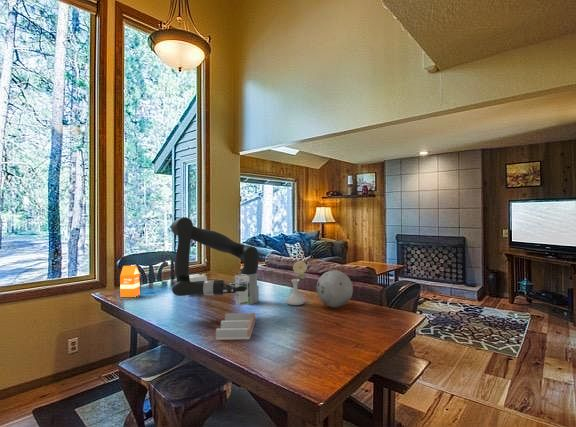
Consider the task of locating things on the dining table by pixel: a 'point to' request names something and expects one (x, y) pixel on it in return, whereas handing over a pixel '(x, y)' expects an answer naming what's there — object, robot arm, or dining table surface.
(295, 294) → the flower in vase
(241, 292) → the syrup box
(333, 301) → the moon model
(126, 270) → the orange juice
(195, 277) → the cable organizer
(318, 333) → the dining table surface
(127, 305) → the dining table surface
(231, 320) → the divided tray
